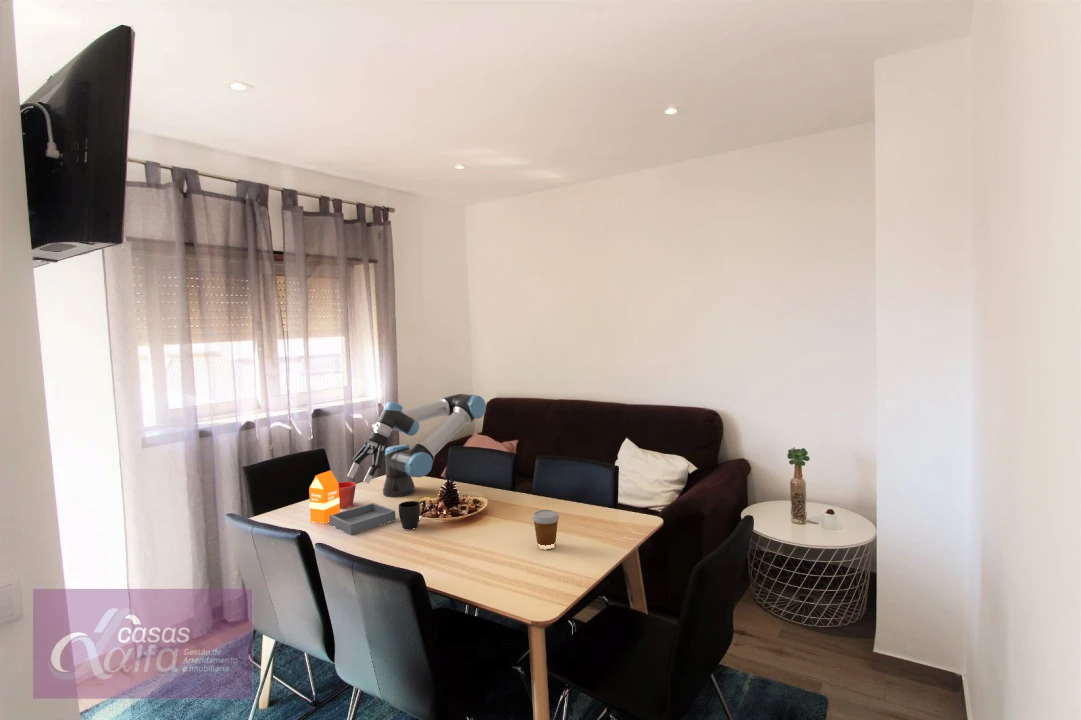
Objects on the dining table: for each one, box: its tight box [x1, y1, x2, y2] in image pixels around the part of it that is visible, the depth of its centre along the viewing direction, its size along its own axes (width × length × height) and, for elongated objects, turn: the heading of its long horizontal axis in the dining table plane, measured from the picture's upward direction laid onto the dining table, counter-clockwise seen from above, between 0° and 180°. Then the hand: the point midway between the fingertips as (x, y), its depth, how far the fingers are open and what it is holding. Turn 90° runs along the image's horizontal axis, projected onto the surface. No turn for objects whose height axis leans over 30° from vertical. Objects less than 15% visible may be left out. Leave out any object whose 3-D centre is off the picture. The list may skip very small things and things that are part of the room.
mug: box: [398, 500, 427, 530], centre depth 210 cm, size 8×12×10 cm
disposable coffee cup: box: [532, 509, 560, 546], centre depth 187 cm, size 10×10×12 cm
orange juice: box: [308, 469, 341, 524], centre depth 220 cm, size 8×9×20 cm
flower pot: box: [338, 481, 357, 509], centre depth 238 cm, size 11×11×10 cm
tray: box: [328, 502, 397, 536], centre depth 216 cm, size 20×17×4 cm
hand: (357, 479), depth 225 cm, fingers open, 13 cm apart
